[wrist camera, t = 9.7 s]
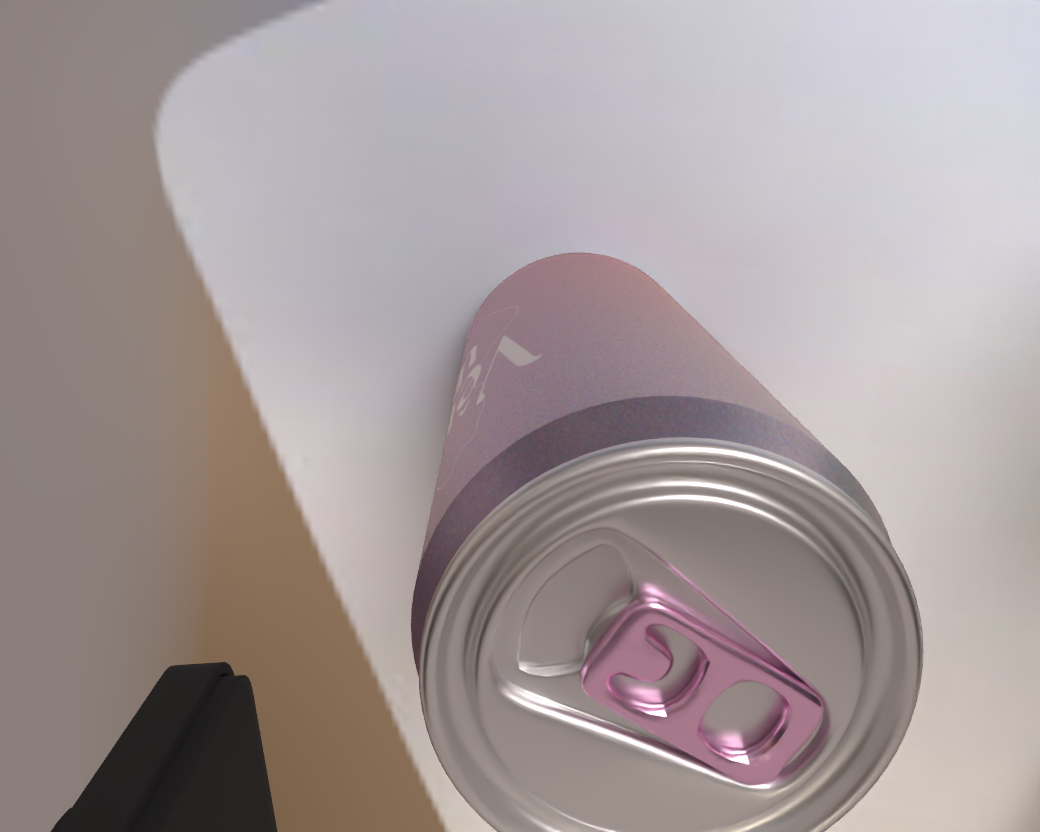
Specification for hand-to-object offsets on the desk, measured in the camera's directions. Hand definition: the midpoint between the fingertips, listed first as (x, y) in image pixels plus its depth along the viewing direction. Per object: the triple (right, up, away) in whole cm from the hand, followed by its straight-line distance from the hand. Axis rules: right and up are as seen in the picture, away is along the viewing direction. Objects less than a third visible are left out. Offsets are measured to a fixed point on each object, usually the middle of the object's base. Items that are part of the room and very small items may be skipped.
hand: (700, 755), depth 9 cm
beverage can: (0, +5, +15) cm, 16 cm away
